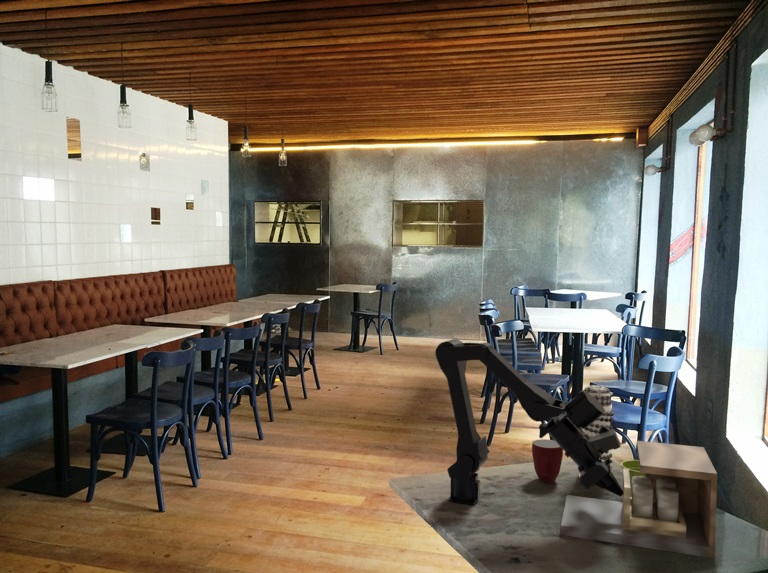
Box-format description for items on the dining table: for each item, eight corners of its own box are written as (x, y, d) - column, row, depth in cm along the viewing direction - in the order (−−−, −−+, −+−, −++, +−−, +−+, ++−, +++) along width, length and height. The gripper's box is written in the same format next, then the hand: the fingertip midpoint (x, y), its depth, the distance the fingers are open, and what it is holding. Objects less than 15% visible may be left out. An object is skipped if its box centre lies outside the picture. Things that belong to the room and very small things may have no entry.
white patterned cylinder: (572, 479, 168) (574, 387, 167) (583, 470, 175) (584, 382, 175) (607, 486, 163) (609, 391, 162) (616, 476, 170) (618, 386, 169)
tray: (623, 529, 132) (624, 487, 131) (622, 506, 144) (623, 468, 143) (686, 537, 127) (687, 494, 127) (679, 514, 140) (680, 474, 139)
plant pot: (641, 510, 147) (642, 474, 147) (611, 496, 155) (612, 462, 155) (670, 504, 151) (670, 469, 150) (639, 491, 159) (640, 457, 159)
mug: (562, 490, 159) (563, 451, 159) (530, 487, 162) (530, 449, 161) (562, 476, 170) (563, 440, 169) (532, 473, 172) (532, 438, 171)
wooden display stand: (560, 534, 133) (562, 456, 132) (566, 503, 151) (568, 434, 150) (714, 558, 123) (717, 473, 122) (701, 521, 141) (703, 447, 140)
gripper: (597, 427, 130) (653, 486, 127) (599, 408, 147) (648, 459, 144) (557, 460, 133) (611, 518, 130) (564, 437, 150) (611, 488, 147)
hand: (622, 494), depth 137 cm, fingers closed, pressing on tray
